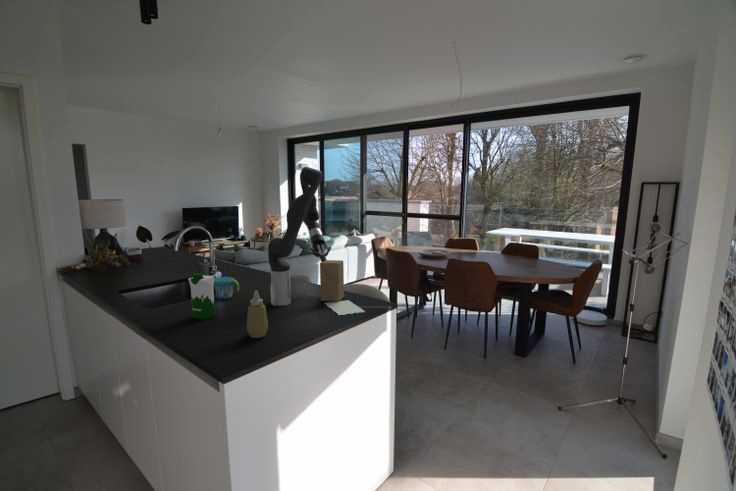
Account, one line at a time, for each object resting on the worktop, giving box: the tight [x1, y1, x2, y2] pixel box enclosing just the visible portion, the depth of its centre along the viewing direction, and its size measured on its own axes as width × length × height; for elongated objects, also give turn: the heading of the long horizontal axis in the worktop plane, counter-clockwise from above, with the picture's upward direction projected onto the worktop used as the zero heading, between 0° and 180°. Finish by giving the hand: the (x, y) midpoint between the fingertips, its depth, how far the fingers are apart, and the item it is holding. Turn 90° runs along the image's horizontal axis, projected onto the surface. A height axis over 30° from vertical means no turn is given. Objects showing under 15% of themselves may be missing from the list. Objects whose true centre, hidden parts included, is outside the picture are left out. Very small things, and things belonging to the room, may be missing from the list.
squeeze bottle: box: [246, 290, 269, 339], centre depth 142 cm, size 8×8×18 cm
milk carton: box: [187, 272, 217, 320], centre depth 164 cm, size 9×9×20 cm
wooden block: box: [319, 259, 345, 302], centre depth 192 cm, size 10×10×20 cm
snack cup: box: [213, 276, 240, 300], centre depth 195 cm, size 16×10×10 cm
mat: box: [324, 300, 366, 317], centre depth 179 cm, size 13×20×1 cm, turn 26°
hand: (324, 262), depth 202 cm, fingers closed
